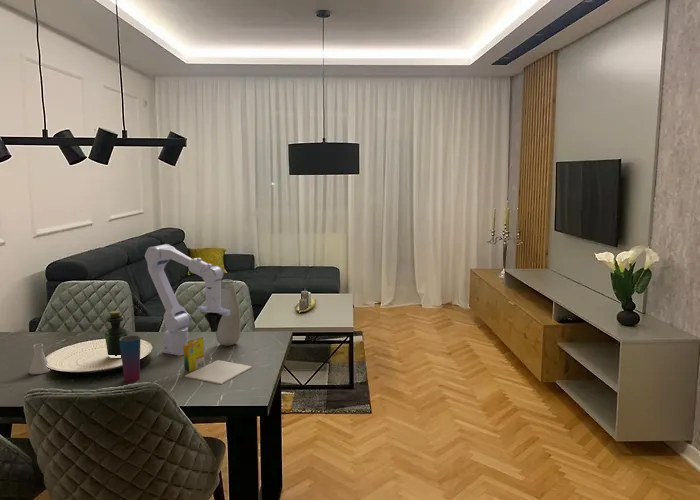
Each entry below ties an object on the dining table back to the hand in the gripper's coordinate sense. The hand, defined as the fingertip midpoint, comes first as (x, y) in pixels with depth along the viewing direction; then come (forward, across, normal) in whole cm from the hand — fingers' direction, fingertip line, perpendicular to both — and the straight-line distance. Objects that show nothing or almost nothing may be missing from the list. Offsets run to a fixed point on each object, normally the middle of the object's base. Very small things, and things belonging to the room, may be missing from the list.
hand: (214, 331), depth 214 cm
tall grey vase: (+10, -4, +14) cm, 18 cm away
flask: (+11, -46, -41) cm, 63 cm away
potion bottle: (+11, -34, -17) cm, 40 cm away
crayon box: (+10, +2, -14) cm, 18 cm away
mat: (+10, +13, -13) cm, 21 cm away
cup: (+11, -10, -32) cm, 35 cm away
